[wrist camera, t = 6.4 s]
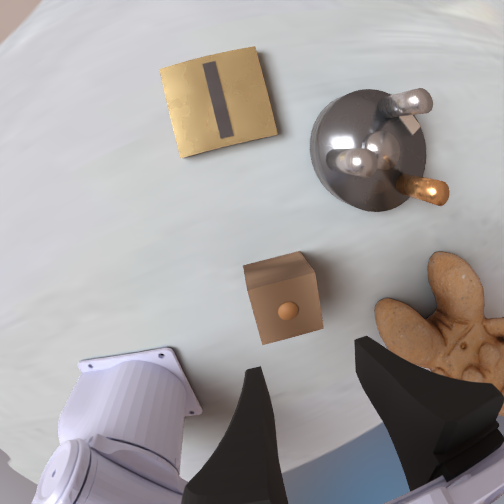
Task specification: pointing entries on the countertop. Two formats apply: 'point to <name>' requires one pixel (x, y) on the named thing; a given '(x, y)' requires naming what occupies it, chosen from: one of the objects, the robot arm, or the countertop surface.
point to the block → (283, 297)
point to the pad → (218, 101)
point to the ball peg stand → (375, 150)
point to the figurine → (448, 327)
